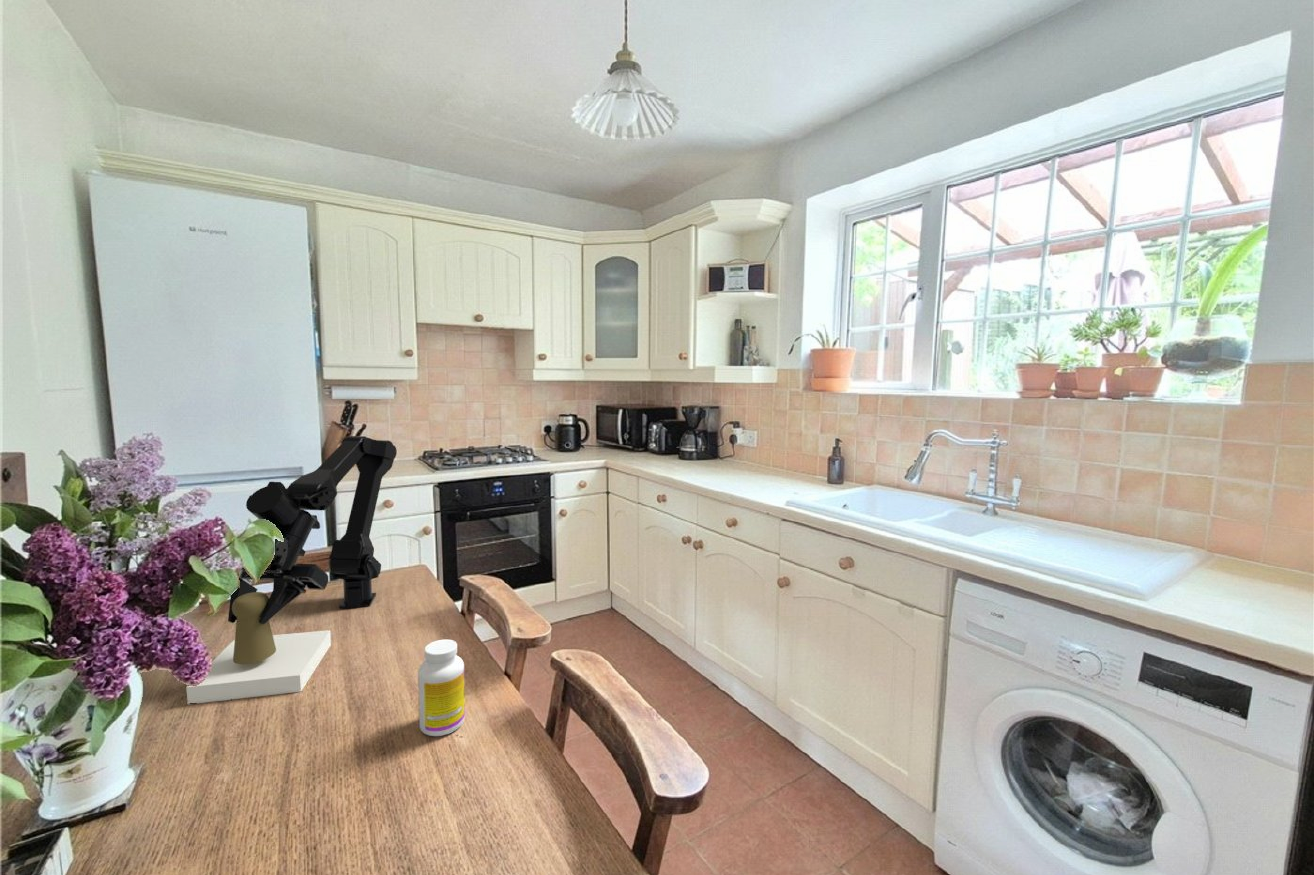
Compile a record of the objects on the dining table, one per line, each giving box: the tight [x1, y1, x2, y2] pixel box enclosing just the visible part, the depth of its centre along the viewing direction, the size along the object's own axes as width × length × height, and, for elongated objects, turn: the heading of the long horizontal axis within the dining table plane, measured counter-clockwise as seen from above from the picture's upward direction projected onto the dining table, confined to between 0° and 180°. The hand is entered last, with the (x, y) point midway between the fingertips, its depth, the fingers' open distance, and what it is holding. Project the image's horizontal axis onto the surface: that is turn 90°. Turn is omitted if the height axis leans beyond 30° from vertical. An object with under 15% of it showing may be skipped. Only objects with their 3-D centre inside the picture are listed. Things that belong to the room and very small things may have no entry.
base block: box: [185, 629, 332, 704], centre depth 95 cm, size 16×16×3 cm
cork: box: [232, 591, 276, 664], centre depth 92 cm, size 6×6×11 cm
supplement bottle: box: [417, 639, 466, 737], centre depth 82 cm, size 7×7×13 cm
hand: (246, 622), depth 91 cm, fingers closed on cork, 5 cm apart
